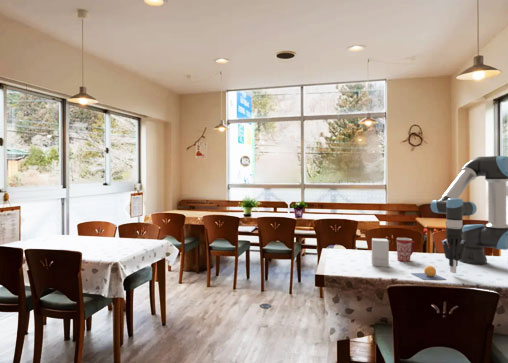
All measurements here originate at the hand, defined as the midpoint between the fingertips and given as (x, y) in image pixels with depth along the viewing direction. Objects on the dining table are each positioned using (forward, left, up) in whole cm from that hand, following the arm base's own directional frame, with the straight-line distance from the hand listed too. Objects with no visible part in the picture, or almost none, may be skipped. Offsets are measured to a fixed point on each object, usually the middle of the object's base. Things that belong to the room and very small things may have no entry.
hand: (453, 272), depth 190 cm
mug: (+6, -36, -2) cm, 37 cm away
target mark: (+14, 0, -2) cm, 14 cm away
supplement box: (+28, -26, -2) cm, 38 cm away
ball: (+13, 0, +1) cm, 13 cm away
